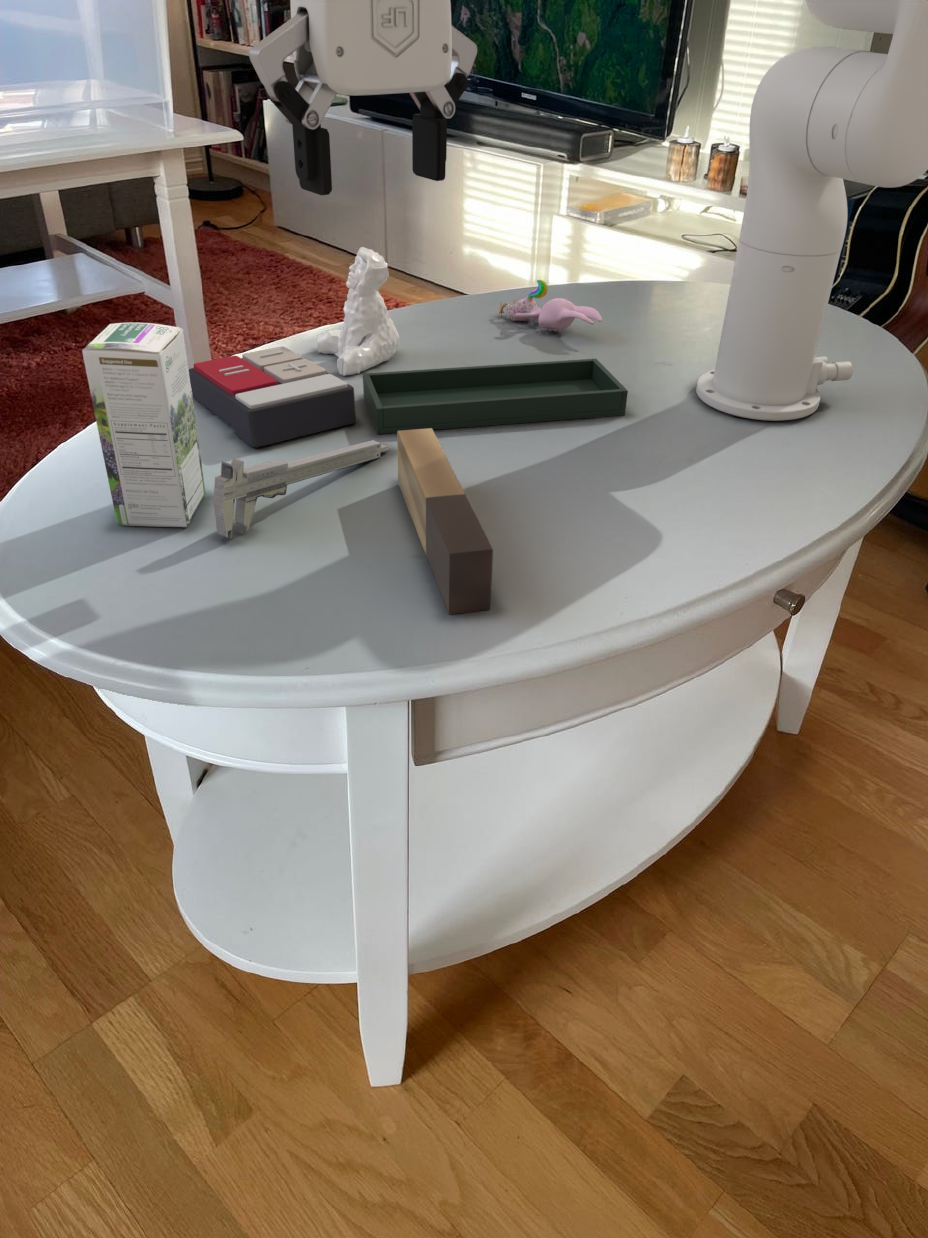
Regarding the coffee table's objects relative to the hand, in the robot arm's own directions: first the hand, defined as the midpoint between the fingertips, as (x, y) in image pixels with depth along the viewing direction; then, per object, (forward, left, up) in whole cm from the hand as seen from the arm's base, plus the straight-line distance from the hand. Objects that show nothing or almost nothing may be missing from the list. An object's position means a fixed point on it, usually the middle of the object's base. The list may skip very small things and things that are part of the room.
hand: (374, 184), depth 66 cm
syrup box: (+18, +1, -24) cm, 30 cm away
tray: (-14, -15, -24) cm, 32 cm away
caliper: (+6, 0, -24) cm, 25 cm away
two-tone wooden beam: (-3, +10, -24) cm, 26 cm away
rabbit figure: (-27, -37, -24) cm, 52 cm away
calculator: (+8, -18, -24) cm, 31 cm away
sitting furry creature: (-3, -31, -24) cm, 40 cm away
